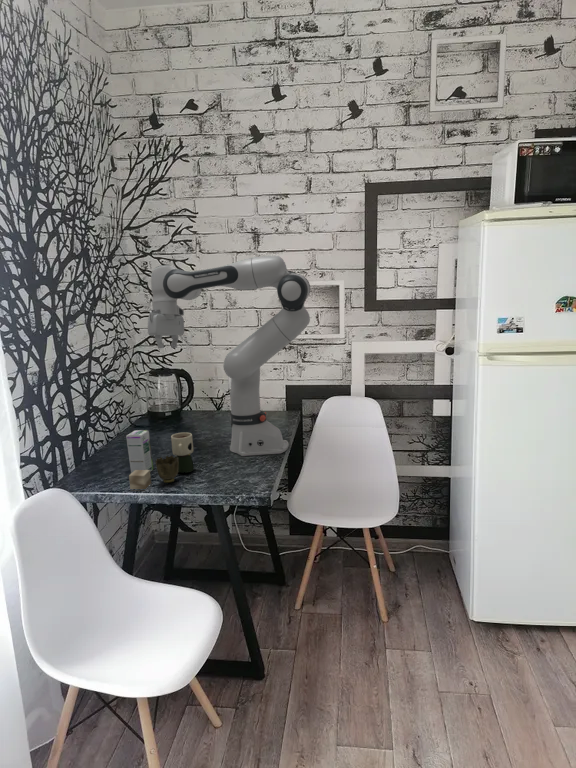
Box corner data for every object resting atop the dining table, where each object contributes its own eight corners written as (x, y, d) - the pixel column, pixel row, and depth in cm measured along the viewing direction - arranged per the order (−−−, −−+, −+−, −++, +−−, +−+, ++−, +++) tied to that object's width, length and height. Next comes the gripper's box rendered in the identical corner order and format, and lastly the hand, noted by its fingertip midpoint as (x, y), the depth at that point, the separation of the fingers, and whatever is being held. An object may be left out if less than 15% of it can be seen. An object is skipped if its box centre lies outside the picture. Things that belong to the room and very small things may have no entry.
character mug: (193, 476, 186) (190, 439, 183) (172, 478, 186) (168, 440, 183) (197, 465, 196) (193, 430, 194) (176, 466, 196) (173, 431, 194)
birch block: (151, 484, 181) (149, 469, 180) (145, 490, 176) (143, 475, 175) (136, 484, 182) (135, 469, 181) (130, 490, 177) (128, 475, 176)
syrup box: (146, 475, 189) (142, 434, 186) (130, 475, 190) (125, 434, 187) (153, 469, 194) (149, 429, 192) (138, 469, 196) (133, 429, 193)
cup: (160, 488, 177) (158, 464, 175) (155, 481, 183) (152, 458, 182) (183, 483, 180) (181, 459, 178) (177, 476, 186) (174, 453, 185)
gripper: (157, 308, 194) (160, 348, 194) (186, 311, 213) (188, 347, 214) (141, 309, 196) (144, 349, 196) (171, 312, 215) (174, 348, 216)
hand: (167, 348), depth 205 cm, fingers open, 8 cm apart
